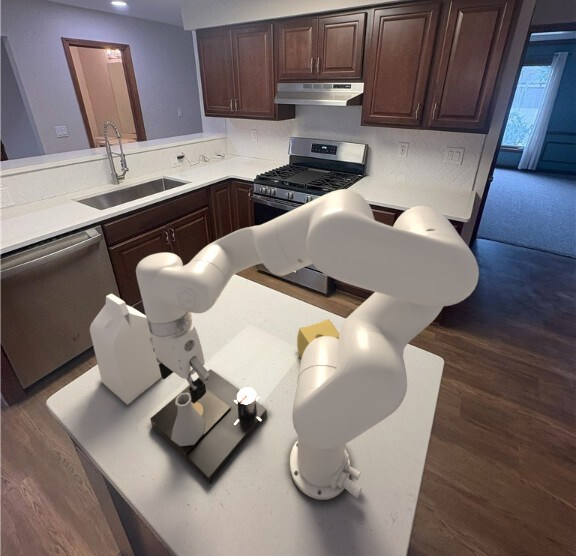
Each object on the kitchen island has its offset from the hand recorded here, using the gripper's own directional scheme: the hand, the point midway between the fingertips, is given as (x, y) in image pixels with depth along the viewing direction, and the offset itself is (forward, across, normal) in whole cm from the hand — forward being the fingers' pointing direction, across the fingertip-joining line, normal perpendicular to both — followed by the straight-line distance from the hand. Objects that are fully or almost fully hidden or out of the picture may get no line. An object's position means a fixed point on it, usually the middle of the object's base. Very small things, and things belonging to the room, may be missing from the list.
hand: (183, 385), depth 64 cm
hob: (+17, 0, -5) cm, 18 cm away
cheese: (+18, -12, -36) cm, 42 cm away
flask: (+14, +1, 0) cm, 14 cm away
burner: (+15, +4, -3) cm, 15 cm away
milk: (+16, +26, -1) cm, 31 cm away
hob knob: (+15, -6, -11) cm, 20 cm away
